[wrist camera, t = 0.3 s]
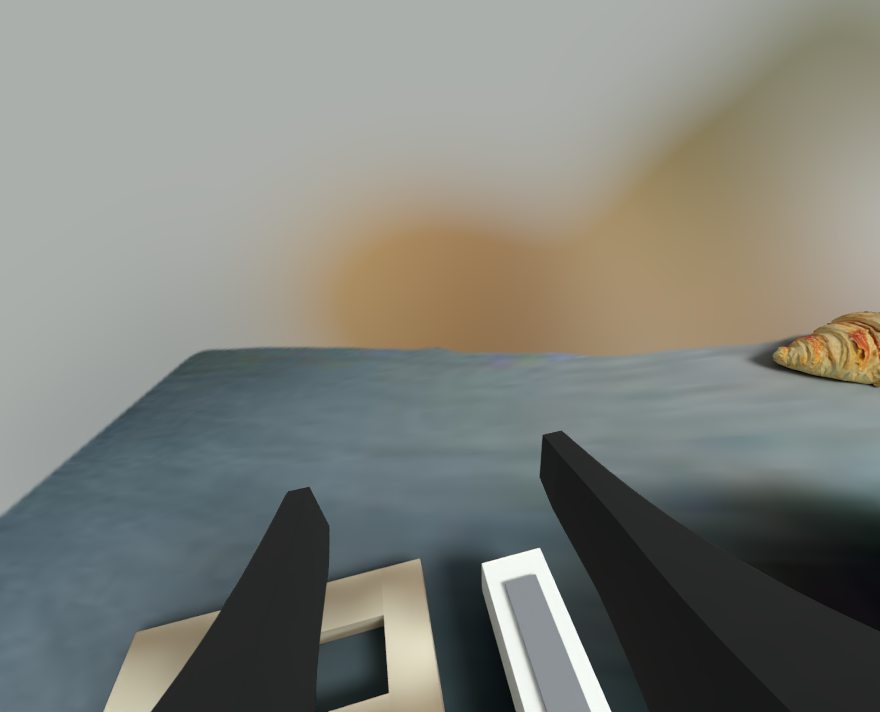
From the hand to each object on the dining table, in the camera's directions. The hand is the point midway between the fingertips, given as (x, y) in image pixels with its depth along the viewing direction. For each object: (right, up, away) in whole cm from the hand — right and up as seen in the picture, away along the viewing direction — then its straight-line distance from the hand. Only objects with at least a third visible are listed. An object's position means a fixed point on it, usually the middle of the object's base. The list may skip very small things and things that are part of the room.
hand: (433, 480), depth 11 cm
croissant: (+52, +3, +33) cm, 62 cm away
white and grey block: (+6, -17, +10) cm, 21 cm away
